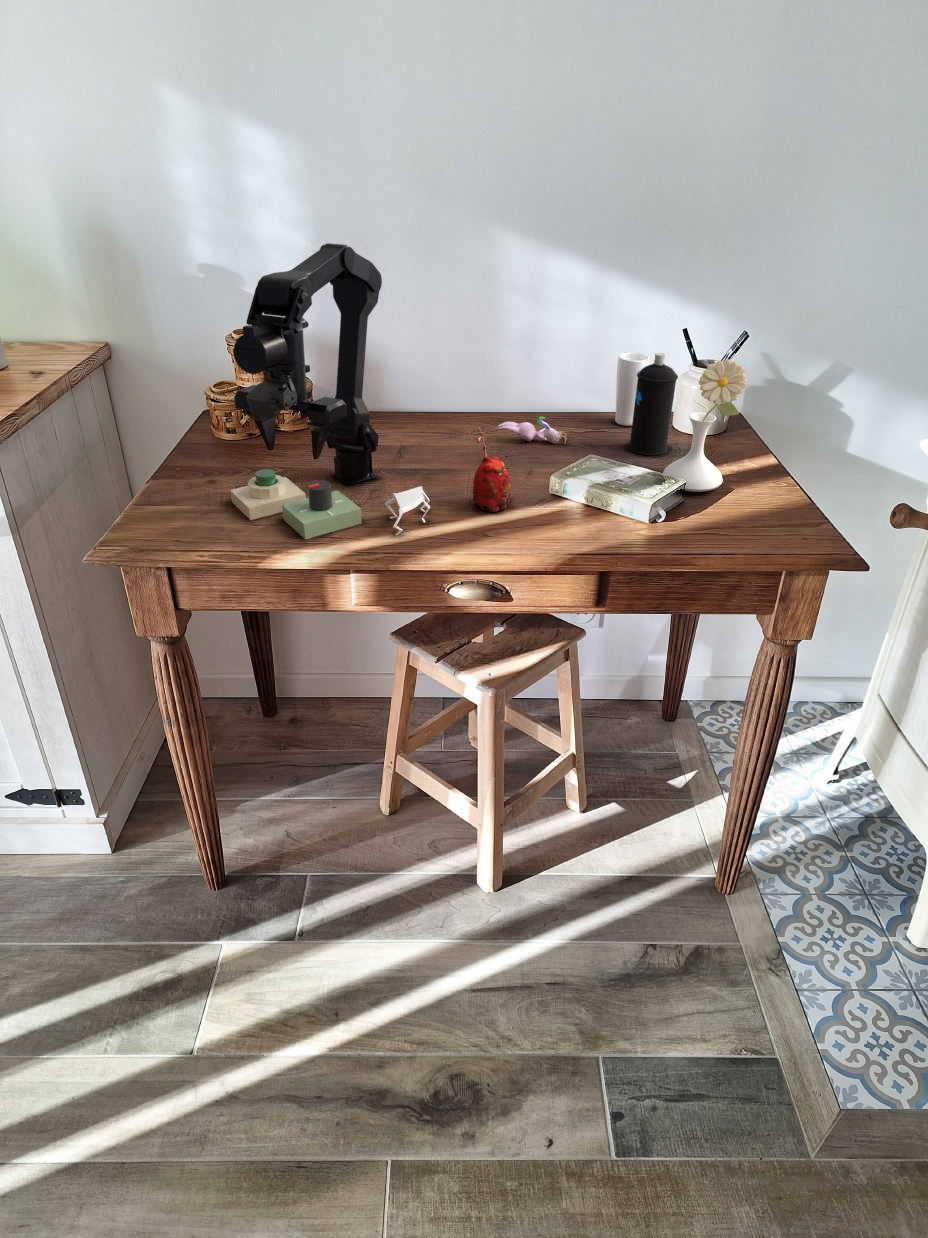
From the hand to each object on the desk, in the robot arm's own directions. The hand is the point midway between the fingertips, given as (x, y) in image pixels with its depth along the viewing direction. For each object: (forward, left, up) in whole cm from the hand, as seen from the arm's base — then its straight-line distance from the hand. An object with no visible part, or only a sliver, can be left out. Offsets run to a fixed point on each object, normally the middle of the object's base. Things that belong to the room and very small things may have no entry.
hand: (293, 454), depth 144 cm
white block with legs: (-15, +11, -13) cm, 23 cm away
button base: (+2, -10, -13) cm, 17 cm away
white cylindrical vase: (-83, -5, -13) cm, 85 cm away
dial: (-3, +2, -10) cm, 11 cm away
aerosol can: (-76, +9, -13) cm, 78 cm away
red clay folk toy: (-32, +13, -13) cm, 37 cm away
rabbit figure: (-58, -8, -13) cm, 60 cm away
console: (-3, +2, -13) cm, 13 cm away
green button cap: (+2, -10, -9) cm, 14 cm away
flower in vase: (-70, +28, -13) cm, 77 cm away
